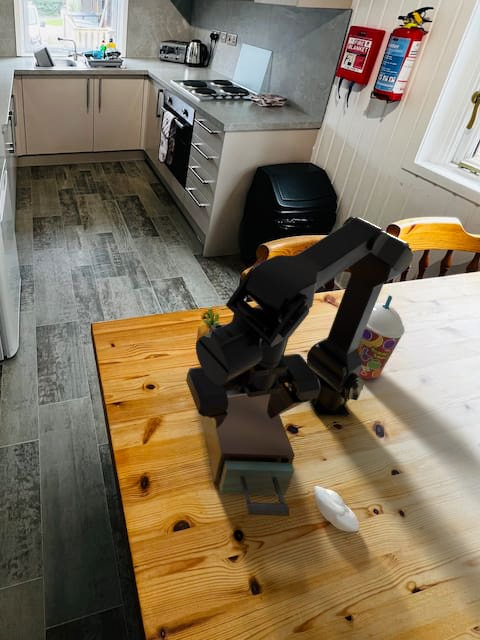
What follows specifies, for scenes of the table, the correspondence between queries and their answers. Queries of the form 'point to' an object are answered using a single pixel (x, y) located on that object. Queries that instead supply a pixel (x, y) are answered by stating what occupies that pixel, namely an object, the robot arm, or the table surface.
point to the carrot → (207, 323)
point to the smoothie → (379, 339)
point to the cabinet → (246, 434)
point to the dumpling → (335, 510)
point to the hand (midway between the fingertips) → (242, 420)
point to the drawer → (257, 482)
